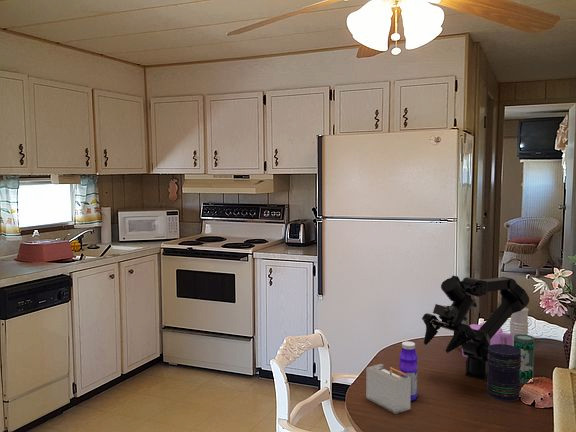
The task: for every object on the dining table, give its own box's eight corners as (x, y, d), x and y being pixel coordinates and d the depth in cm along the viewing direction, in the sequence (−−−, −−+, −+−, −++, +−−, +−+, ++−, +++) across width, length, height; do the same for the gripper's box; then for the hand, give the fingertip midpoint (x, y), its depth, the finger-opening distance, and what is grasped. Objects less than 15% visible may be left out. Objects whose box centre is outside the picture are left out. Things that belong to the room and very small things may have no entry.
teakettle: (516, 361, 201) (517, 328, 200) (475, 365, 197) (476, 332, 196) (489, 346, 217) (490, 316, 216) (451, 350, 214) (451, 319, 212)
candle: (527, 343, 221) (528, 307, 219) (528, 348, 214) (529, 311, 213) (509, 341, 223) (510, 305, 222) (509, 346, 217) (510, 310, 215)
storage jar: (526, 400, 167) (528, 353, 166) (497, 402, 166) (498, 355, 164) (508, 387, 177) (509, 343, 176) (480, 389, 176) (481, 344, 174)
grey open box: (380, 394, 173) (380, 362, 172) (410, 409, 162) (410, 376, 161) (366, 398, 170) (366, 366, 169) (395, 414, 159) (395, 380, 158)
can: (510, 380, 182) (512, 337, 181) (516, 375, 187) (517, 333, 186) (529, 385, 179) (531, 341, 177) (535, 379, 183) (536, 336, 182)
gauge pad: (384, 393, 171) (384, 362, 170) (409, 405, 162) (409, 373, 161) (380, 394, 170) (380, 363, 169) (404, 407, 161) (405, 374, 160)
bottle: (417, 402, 166) (418, 347, 165) (398, 401, 167) (399, 346, 166) (417, 392, 173) (417, 340, 172) (399, 391, 175) (399, 339, 173)
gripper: (426, 289, 185) (402, 326, 180) (471, 301, 169) (446, 341, 164) (441, 309, 190) (418, 345, 185) (486, 321, 174) (462, 361, 169)
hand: (435, 348), depth 175 cm, fingers open, 9 cm apart
